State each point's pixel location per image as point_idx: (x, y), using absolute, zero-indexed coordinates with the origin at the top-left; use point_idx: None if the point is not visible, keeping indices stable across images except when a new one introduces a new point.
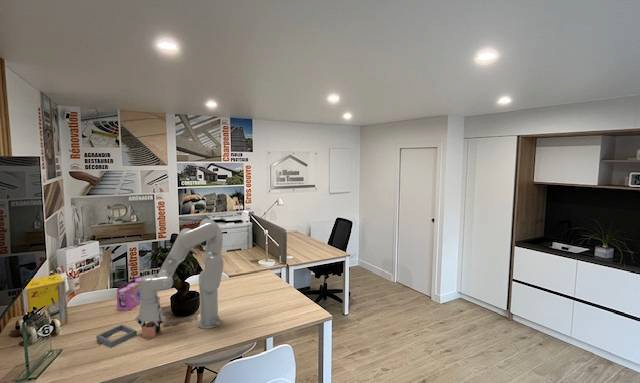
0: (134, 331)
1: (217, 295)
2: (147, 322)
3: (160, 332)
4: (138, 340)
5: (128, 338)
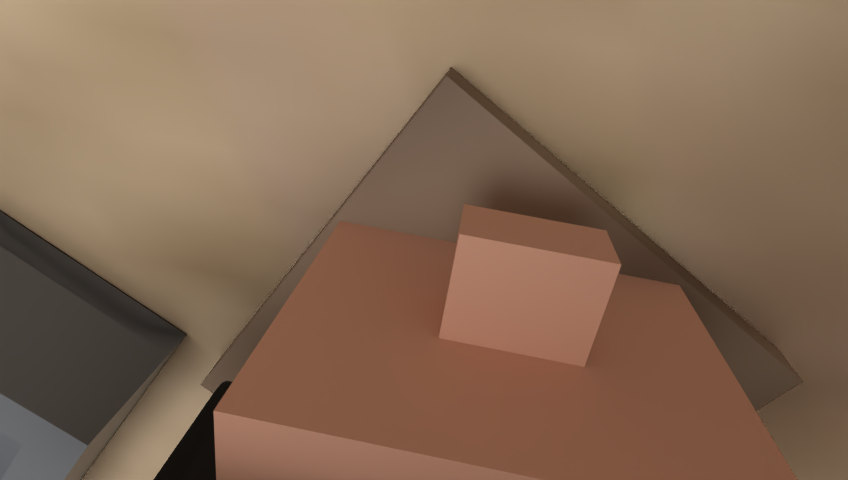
0: (64, 470)
1: None
2: (226, 453)
3: None
4: None
5: (84, 466)
